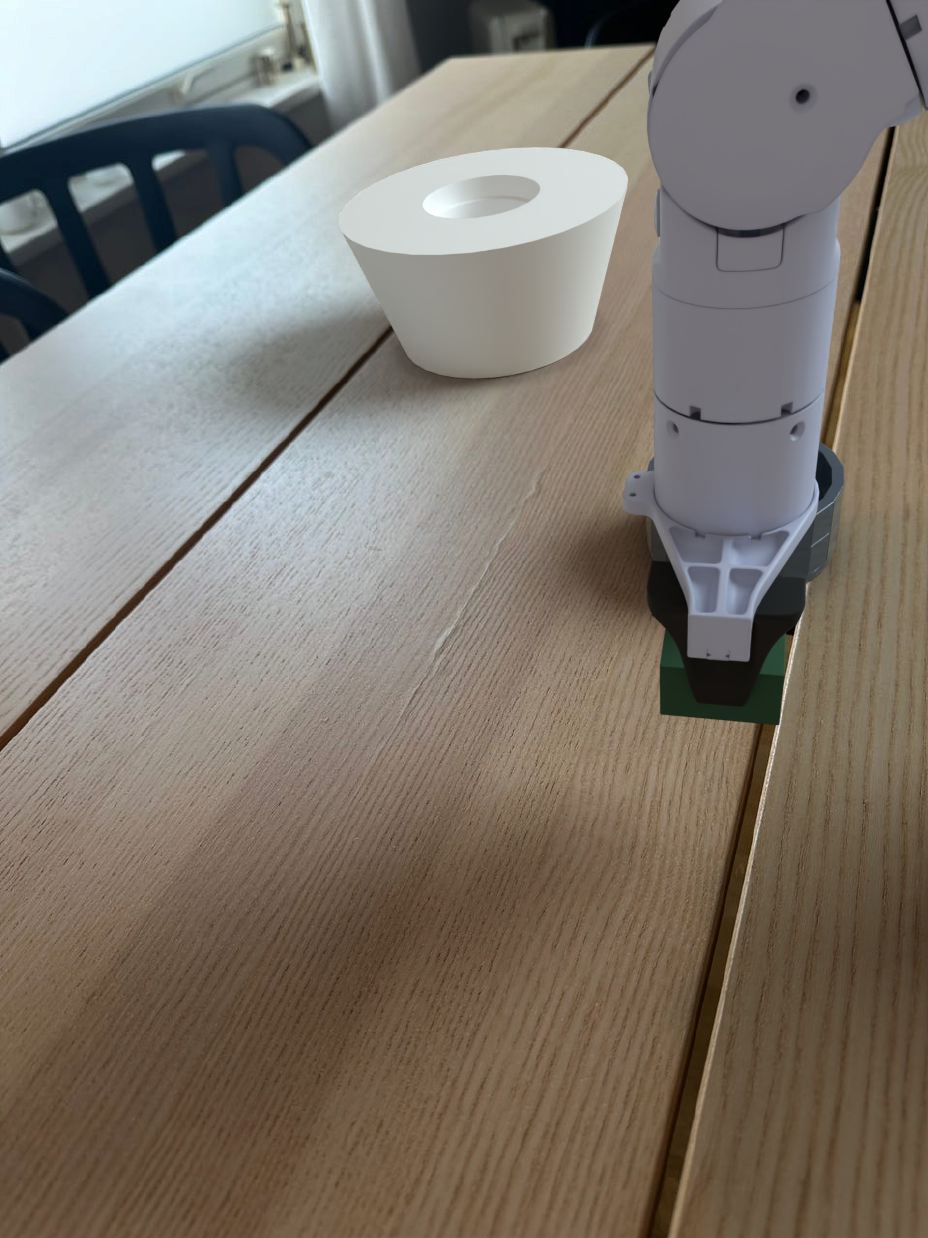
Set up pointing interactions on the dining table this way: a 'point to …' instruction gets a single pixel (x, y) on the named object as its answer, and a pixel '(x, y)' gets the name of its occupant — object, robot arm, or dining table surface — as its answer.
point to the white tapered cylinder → (489, 255)
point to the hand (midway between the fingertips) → (723, 664)
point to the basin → (818, 537)
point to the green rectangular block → (757, 709)
